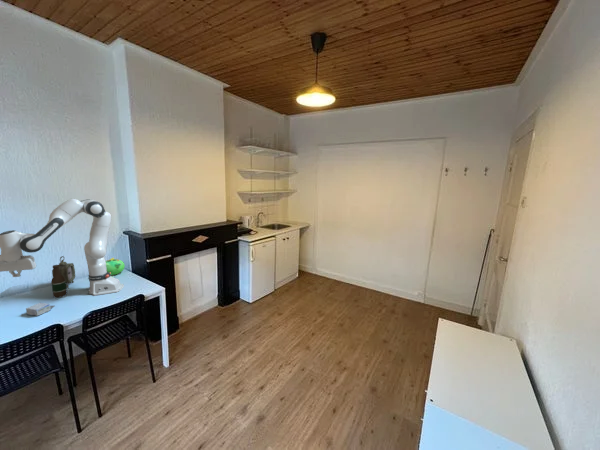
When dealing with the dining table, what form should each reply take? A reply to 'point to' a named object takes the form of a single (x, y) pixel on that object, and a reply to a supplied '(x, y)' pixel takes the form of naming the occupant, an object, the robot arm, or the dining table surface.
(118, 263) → the toy bird
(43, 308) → the medicine box
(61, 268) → the old metal lantern
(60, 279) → the beer bottle
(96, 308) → the dining table surface
